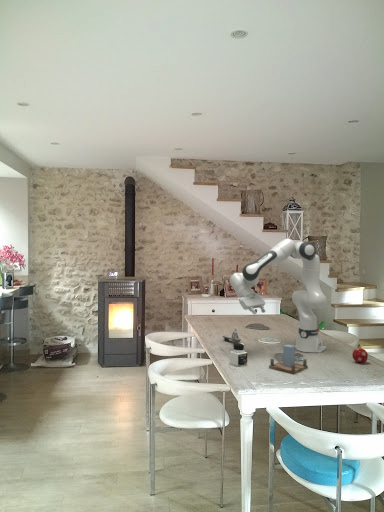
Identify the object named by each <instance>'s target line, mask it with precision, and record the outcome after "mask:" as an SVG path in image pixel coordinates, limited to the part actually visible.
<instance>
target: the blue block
mask: <svg viewBox="0 0 384 512" xmlns="http://www.w3.org/2000/svg"><path fill="white" fill-rule="evenodd" d="M295 346H296V345H292V344H284V345H283V347H282V361H283V366H287V367H292V364H294V362H295V351H296V350H295V349H296V348H295Z"/></svg>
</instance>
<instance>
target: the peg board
mask: <svg viewBox="0 0 384 512" xmlns="http://www.w3.org/2000/svg"><path fill="white" fill-rule="evenodd" d="M302 361H303V362H302V363H298V362H295V361H294V364H292V367H287V366H283V360H281V361H277V362H275V359H274V358H270V365H269V366H268V369H269V370H270V369H271V370H274V371H279V372H283V373H287V374H291V375H295V374H298V373H300V372H302V371H304V370H307V369H308V368H309V366H308V364H307V363H308V362H307V361H308V360H307V359H306V358H304V359H302Z"/></svg>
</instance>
